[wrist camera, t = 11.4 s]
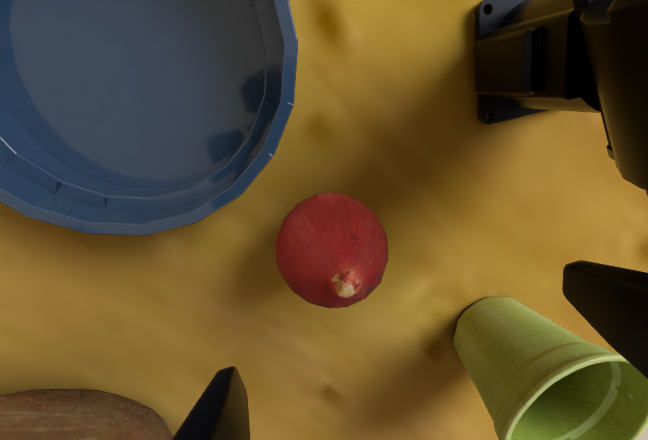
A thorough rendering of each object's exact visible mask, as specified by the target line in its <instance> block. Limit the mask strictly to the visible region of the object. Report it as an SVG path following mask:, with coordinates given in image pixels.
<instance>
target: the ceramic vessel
mask: <svg viewBox="0 0 648 440" xmlns="http://www.w3.org/2000/svg"><path fill="white" fill-rule="evenodd" d="M172 439H173V436H172V435H171V433H170V431H169V429H168V427H167V426H166V424H165V422H164V420H163V419H162V418H161V417H159V416H158V415H157V414H156V413H155V412H154V411H153V410H152V409H150V408H148V407H146V406H144V405H142V404H140V403H138V402H136V401H133V400H131V399H128V398H125V397H122V396H119V395H116V394H112V393H107V392H103V391H98V390H79V389H47V390H32V391H27V392H21V393H16V394H9V395H2V396H0V440H172Z"/></svg>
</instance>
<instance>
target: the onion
mask: <svg viewBox="0 0 648 440" xmlns="http://www.w3.org/2000/svg"><path fill="white" fill-rule="evenodd" d="M275 244H276V259H277V265H278V269H279V271H280V273H281V274H282V276H283V278H284V279H285V281H286V282H287V284H288V286H289V287H290V288H291V290H292V291H293V292H294V293H296V294H297V295H299V296H300V297H301V298H303V299H304V300H306V301H307V302H309V303H311V304H315V305H318V306H322V307H326V308H340V307H348V306H350V305H352V304H355V303H357V302H359V301H361V300H363V299H365V298H366V297H367V296H368V295H369V294H370V293H371V292H372V291H373V290H374V289H375V288H376V287H377V286H378V285H379V284H380V282H381V279H382V276H383V273H384V270H385V267H386V264H387V261H388V247H387V236H386V233H385V231H384V229H383V227H382V225H381V223H380V221H379V219H378V217H377V216H376V215H375V213H374V212H373V211H371V210H370V209H369V208H368V207H367V206H365V205H364V204H363V203H362V202H360V201H359V200H357V199H355V198H352V197H349V196H346V195H343V194H339V193H324V194H315V195H313V196H311V197H310V198H308V199H306V200H304V201H302V202H300V203H298V204H297V205H296V206H295V207H294V208H293V209H292V211H291V212H290V213H289V214H288V215H287V216H286V217H285V218H284V221H283V223H282V226H281V229H280V231H279V234H278V237H277V240H276V243H275Z"/></svg>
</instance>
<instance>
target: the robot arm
mask: <svg viewBox="0 0 648 440" xmlns="http://www.w3.org/2000/svg"><path fill="white" fill-rule="evenodd" d="M485 6H486V7H487V9H488V12H487V14H486V15H485V14H484V12H483V10H484V7H485ZM475 36H476V44H475V46H474V56H475V83H476V92H477V93H478V118H479V121H480V122H481V123H483V124H494V123H498V122H502V121H506V120H510V119H514V118H518V117H522V116H526V115H530V114H534V113H538V112H542V111H546V110H562V111H578V112H593V113H601V116H602V120H603V124H604V128H605V132H606V135H607V139H608V143H609V144H608V145H607V151H608V154H609V157H610V158H612V159H613V160H615V162H616V166H617V168H618V170H619V172H620V173H621V175H622V177H623V178H624V179H625V180H627V181H629V182H631V183H632V184H634V185H636V186H638V187H639V188H641V189H644V190H646V194H647V196H648V0H483V1H481V2H479V4H478V5H477V6H476V8H475ZM488 112H490V117H489V118H488V119H487V118H486V115H487V113H488ZM562 289H563V294H564V296H565V297H566V299H567V300H568V301H569V302H570V303H571V304H572V305H573V306H574V307H575V309H576V310H577V311H578V312H579V313H580V314H581V315H582V316H583V317H584V318H585V319H586V320H587V321H588V322H589V323H590V325H591V326H592V327H593V328H594V329H595V330H596V331H597V332H598V333H599V334H600V335H601V336H602V337H603V338H604V339H605V340H606V341H607V342H608V344H609V345H610V346H612V347H613V348H614V349H615V350H616V351H617V352H618V353H619V354H620V355H621V356H622V357H623V358H625V359H626V360H627V361H628V362H629V363H630V364H631V365H632V366H633V367H635V368H636V369H637V370H638V371H639V372H640V373H641V374H642V375H643V376H645V377H646V378H647V379H648V273H646V272H641V271H635V270H630V269H625V268H620V267H614V266H609V265H604V264H599V263H594V262H588V261H583V260H580V261H576V262H572V263H569V264H567V265H565V267H564V269H563V288H562ZM172 440H250V428H249V412H248V398H247V392H246V389H245V386H244V384H243V382H242V379H241V377H240V375H239V373H238V370H237V369H236V367H234V366H231V367H228V368H225V369H221V370H219V371H218V372H217V373H216V375H215V376H214V377H213V379H212V380H211V382H210V383H209V385H208V386H207V388H206V389H205V391H204V392H203V394H202V395H201V397H200V398H199V400H198V401H197V403H196V404H195V406H194V407H193V409H192V410H191V412H190V413H189V415H188V416H187V418H186V419H185V421H184V422H183V424H182V425H181V427H180V428H179V430H178V431H177V433H176V434H175V436H174V437H173V439H172Z"/></svg>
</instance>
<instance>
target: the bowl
mask: <svg viewBox="0 0 648 440" xmlns="http://www.w3.org/2000/svg"><path fill="white" fill-rule="evenodd" d="M297 43H298V40H297V36H296V31H295V26H294V22H293V17H292V12H291V8H290V3H289V0H0V202H1V203H3V204H4V205H6V206H8V207H10V208H12V209H13V210H15V211H17V212H19V213H20V214H22V215H24V216H27V217H29V218H33V219H36V220H40V221H43V222H47V223H50V224H54V225H57V226H61V227H64V228H68V229H71V230H75V231H78V232H82V233H85V234H103V235H141V236H144V235H151V234H155V233H159V232H162V231H166V230H170V229H174V228H178V227H182V226H186V225H190V224H194V223H197V222H199V221H201V220H202V219H204V218H206V217H207V216H209V215H210V214H212V213H214V212H215V211H217V210H218V209H220V208H222V207H223V206H225V205H227V204H228V203H230V202H231V201H233V200H235V199H236V198H238V197H239V196H240V195H242V194H243V193H244V191H245V190H246V189H247V188H248V187H249V185H250V184H251V183H252V182H253V181H254V179H255V178H256V177H257V176H258V174H259V173H260V172H261V171H262V170H263V168H264V167H265V166H266V165H267V164H268V162H269V161H270V160H271V159H272V158H273V156H274V155H275V152H276V149H277V147H278V144H279V142H280V139H281V137H282V134H283V131H284V129H285V126H286V124H287V121H288V119H289V116H290V114H291V111H292V108H293V104H294V96H295V82H296V67H297V53H298V44H297Z"/></svg>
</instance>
